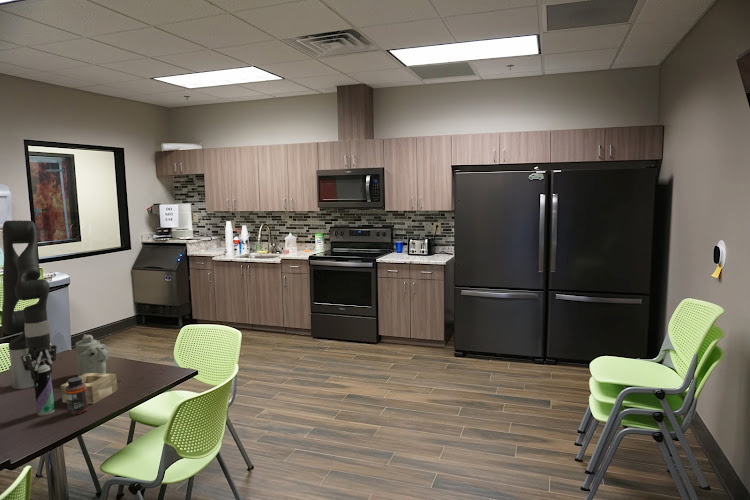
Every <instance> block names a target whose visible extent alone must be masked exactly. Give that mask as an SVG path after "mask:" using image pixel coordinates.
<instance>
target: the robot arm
mask: <svg viewBox="0 0 750 500" xmlns="http://www.w3.org/2000/svg"><path fill="white" fill-rule="evenodd" d="M1 230H2V247H3V248H2V250H3V270H2V271H3V272H2V292H3V295H2V307H1V308H2V310H1V317H0V318H1V319H0V322H1V323H0V324H1V326H0V327H1V329H2V331H3V333H4V334H7V335H10V334H11V335H13V334H16V333H21V332H22V333H21V334H20V335H18V336H17V337H16V338H14V339H11V340H10V341H9V343H8V352H9V359H10V360H9V361H10V365H9V367H8V369H9V378H10V384H11V385H10V386H11V387H10V388H13V389H14V390H23V389H29V388H32V387H34V380H39V375H38V370H37V369H38V365H39V364H40V361H43V362H44V363H45V365H49V366H50V372H51V375H52V374H53V367H52V366H53V362H55V361H57V348H58V347H57V346H58V345H56V344H55V345H54V344H52V345H51V336H50V335H51V334H50V333H51V332H50V325H49V323H48V315H47V304H48V302H47V301H48V298H49V293H50V284H49V282H48V280H46V279H43V278H40V277H41V275H42V274H41V268H40V263H39V259H38V258H39V257H38V251H39V249H38V248H39V247H38V245H39V244H38V243H39V242H38V231H37V225H36V224H35V222H34V221H32V220H5V221H4V222H3V224H2V229H1ZM15 244H16V245H17V244H20V245H21V244H27V246H25V248H24V250H22V252H21V253H20V254H19V255H18V253H17V251H16V250H15V248H14V245H15ZM28 300H29V301H30V300H37V302H36V303H34V304H31V305H28V306H25V307H24V308H23V309H19V310H15V309H16V306H17V304H18V302H20V301H28Z"/></svg>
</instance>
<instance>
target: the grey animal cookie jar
mask: <svg viewBox="0 0 750 500" xmlns="http://www.w3.org/2000/svg"><path fill="white" fill-rule="evenodd" d="M75 349H76V352H75V357H74V358H75V362H76V369H77V377H79V376H81V375H83V374H85V373H104V374H107V363H106V362H107V361H108V359H109V357H110V351H109V348H108V346H107V345H106V344H104V343H101V342H100V340H97V339H94V336H93V335H92V334H83V337H82V339H81V340H80V341H77V342H75Z"/></svg>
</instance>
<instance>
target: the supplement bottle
mask: <svg viewBox="0 0 750 500" xmlns="http://www.w3.org/2000/svg"><path fill="white" fill-rule="evenodd" d="M67 382H68V384H69V385H68V386H67V387H66V398H67V403H66V404H67V412H68V415H71V416H72V415H73V416H74V415H81V414H83V413H85V412H87V411H88V410H89V404H88V398H87V390H86V385H85V384H84V383H82V378H81V377H79V376H77V377H76V376H75V377H71V378H69V379H68V380H67Z"/></svg>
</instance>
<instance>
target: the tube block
mask: <svg viewBox="0 0 750 500" xmlns="http://www.w3.org/2000/svg"><path fill="white" fill-rule="evenodd" d="M78 377H81V378H82V383H84V384H85V385H86V390H87V398H88V405H90V404H92V405H94V404H96V403H97V402H99V401H101V400H103V399H105V398H107V397H108V396H110V395H111V394H113V393H115V392H117V391H118V381H117V380H118V379H117V374H116V373H106V374H104V373H85V374H83V375H81V376H78ZM68 385H69V384H68V381H66V382H65V383H63V384H61V385H60V392H61V394H60V395H61V401H62V402H61V403H66V404H67V398H66V387H67V386H68Z"/></svg>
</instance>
